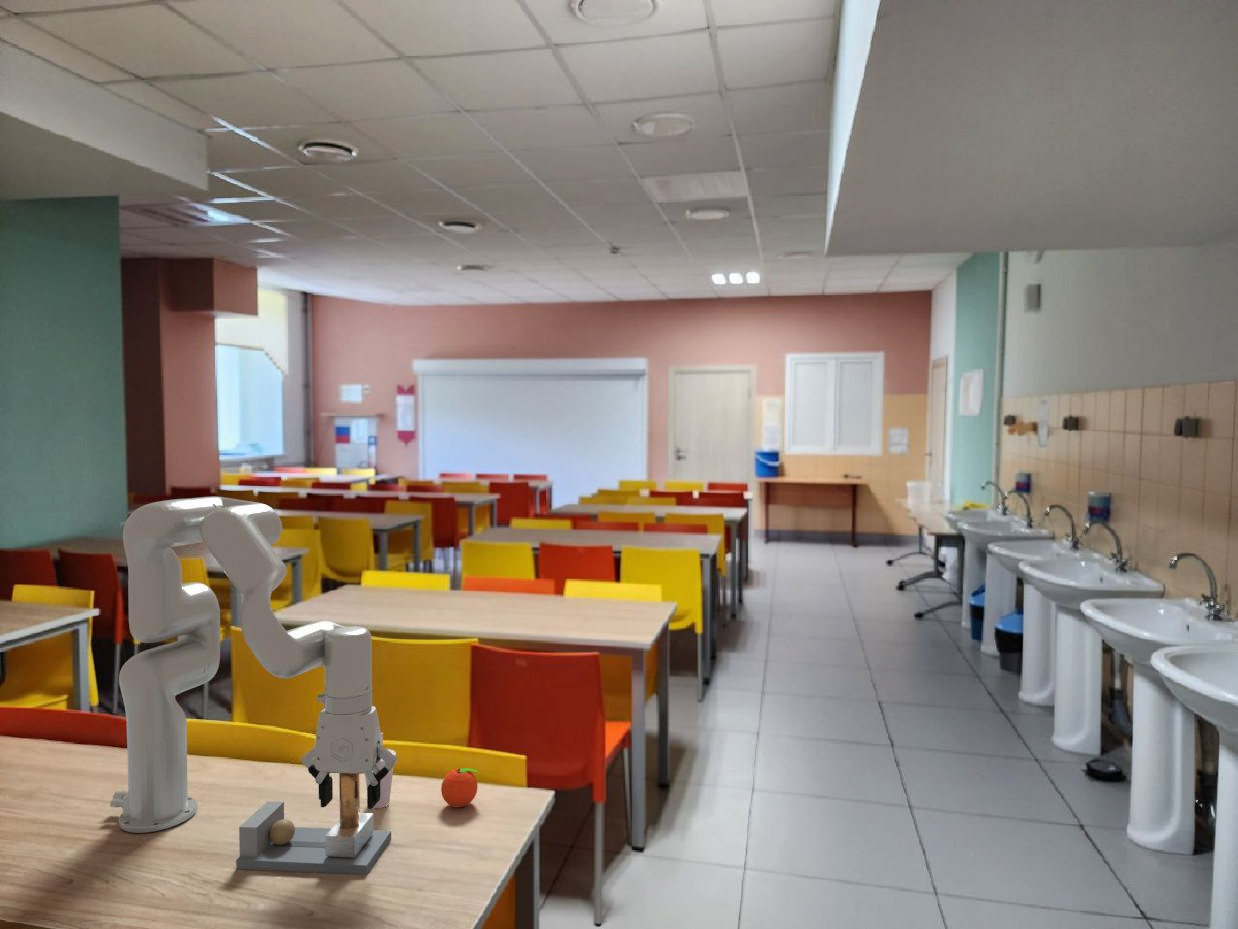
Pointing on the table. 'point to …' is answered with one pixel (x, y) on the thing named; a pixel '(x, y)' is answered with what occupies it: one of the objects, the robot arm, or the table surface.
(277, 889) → the table surface
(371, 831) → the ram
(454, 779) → the clementine
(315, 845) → the frame
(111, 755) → the table surface
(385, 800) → the smoothie
